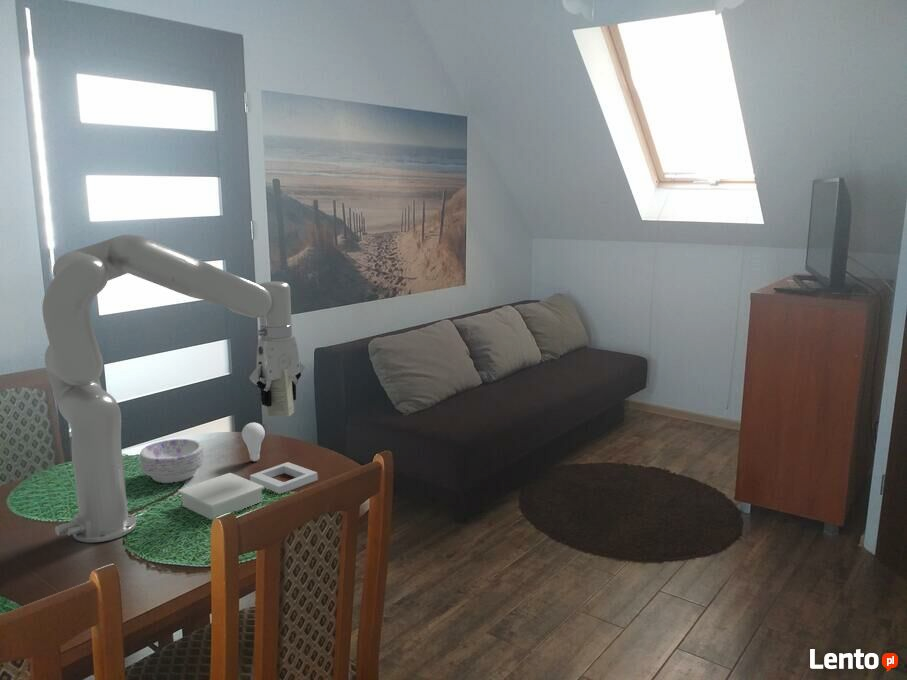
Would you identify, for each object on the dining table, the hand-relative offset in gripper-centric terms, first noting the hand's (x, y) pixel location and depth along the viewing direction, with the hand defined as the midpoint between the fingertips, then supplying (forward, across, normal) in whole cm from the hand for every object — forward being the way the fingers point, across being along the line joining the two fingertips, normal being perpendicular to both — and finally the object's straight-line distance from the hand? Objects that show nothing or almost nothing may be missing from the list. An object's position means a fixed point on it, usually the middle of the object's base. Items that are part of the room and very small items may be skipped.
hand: (279, 401), depth 180 cm
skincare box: (+4, 0, 0) cm, 4 cm away
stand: (+21, -18, 0) cm, 28 cm away
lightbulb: (+21, +4, +18) cm, 28 cm away
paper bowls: (+22, -16, +25) cm, 36 cm away
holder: (+21, 0, 0) cm, 21 cm away
